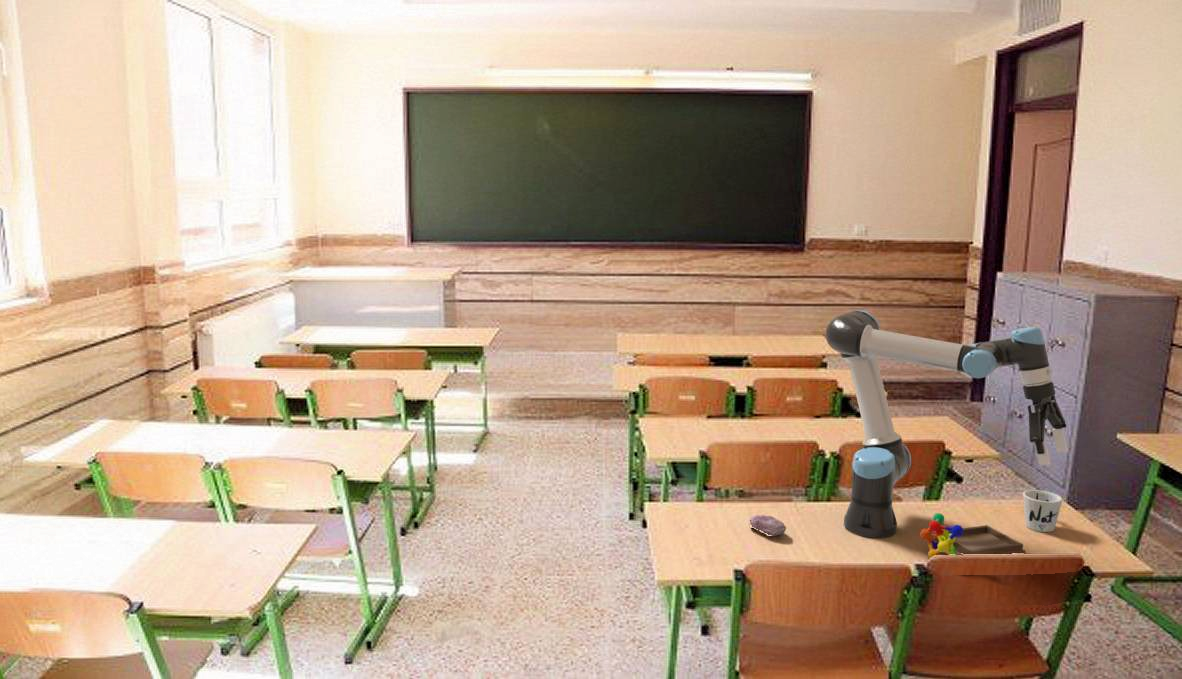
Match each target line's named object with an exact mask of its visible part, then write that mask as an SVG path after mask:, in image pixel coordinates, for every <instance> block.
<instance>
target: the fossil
mask: <svg viewBox="0 0 1182 679" xmlns="http://www.w3.org/2000/svg"><path fill="white" fill-rule="evenodd" d="M749 521H750V523H749V525H750V524H751V525H752V527H754V528H756V529H758V530H761V531H763V532H764V533H767V534H768V535H774V536H773V537H778V536H777V535H780V536H783V535H784V533H786V532H785V531H786V530H787V526H785V524H784V522H782V520H781V521H780V520H779V519H778V518H775V516H771V515H768V516H767V515H763V514H762V515H759V514H758V515H753V516H752V517H750V518H749ZM782 534H783V535H782Z"/></svg>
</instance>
